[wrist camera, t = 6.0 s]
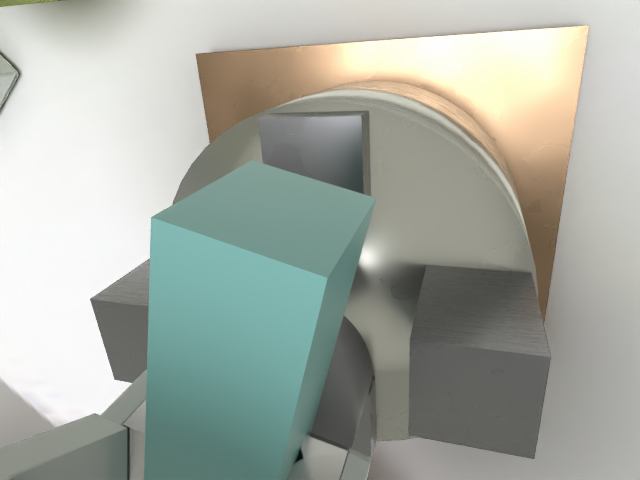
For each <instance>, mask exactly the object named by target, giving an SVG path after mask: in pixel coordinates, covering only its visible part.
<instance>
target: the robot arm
mask: <svg viewBox="0 0 640 480" xmlns="http://www.w3.org/2000/svg"><path fill="white" fill-rule="evenodd" d="M146 386H147V370H145V371H144V372H143V373H142V374H141V375H140V376H139V377H138V378H137V379H136V380H135V381H134V382H133V383H132V384H131V385H130V386H129V387H128V388H127V389H126V390H125V391H124V392H123V393H122V394H121V395H120V396H119V397H118V398H117V399H116V400H115V401H114V402H113V403H112V404H111V405H110V406H109V407H108V408H107V409H106V410H105V411H104V412H103V413H102V414H101V415H98V414H95V413H94V414H92V415H89V416H86V417H83V418H81V419H78V420H75V421H72V422H70V423H67V424H64V425H62V426H59V427H56V428H54V429H51V430H48V431H45V432H43V433H40V434H37V435H34V436H32V437H29V438H26V439H24V440H21V441H18V442H15V443H13V444H10V445H7V446H4V447H2V448H0V480H144V457H145V422H146ZM370 466H371V457H369V456H367V455H365V454H362V453H360V452H357V451H355V450H352V449H349V447H346V446H344V445H341V444H339V443H336V442H334V441H331V440H329V439H326V438H324V437H321V436H319V435H316V434H314V433H311V432H309V431H308V432H307V434H306V435H305V438H304V440H303V442H302V445H301V447H300V451H299V454H298V458H297V462H296V463H294V464H293V466H292V468H291V470H290V473H289V475H288V477H287V480H367V478H368V474H369V470H370Z"/></svg>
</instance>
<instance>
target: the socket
mask: <svg viewBox="0 0 640 480" xmlns="http://www.w3.org/2000/svg"><path fill="white" fill-rule="evenodd" d="M588 29H589V26H575V27H561V28H547V29H533V30H519V31H505V32H492V33H478V34H464V35H450V36H436V37H422V38H408V39H394V40H381V41H367V42H353V43H339V44H325V45H311V46H297V47H283V48H269V49H256V50H242V51H228V52H214V53H200V54H196V59H197V65H198V71H199V78H200V84H201V90H202V96H203V103H204V109H205V115H206V121H207V128H208V134H209V140H210V144H209V145H208V146H207V147H206V148H205V149H204V150H203V152H202V153H201V154H200V155H199V156H198V158H197V159H196V160H195V161H194V162H193V164H192V165H191V167H190V168H189V170H188V172H187V173H186V175H185V177H184V178H183V180H182V182H181V184H180V186H179V189H178V191H177V194H176V196H175V199H174V201H173V205H174V204H176V203H177V202H179V201H181V200H183V199H184V198H186V197H188V196H190V195H192V194H193V193H195V192H197V191H199V190H200V189H202V188H204V187H206V186H207V185H209V184H211V183H213V182H215V181H216V180H218V179H220V178H222V177H223V176H225V175H227V174H229V173H231V172H232V171H234V170H236V169H238V168H239V167H241V166H243V165H245V164H246V163H248V162H250V161H252V160H253V161H256V162H259V163H263V164H266V165H269V166H272V167H276V168H279V169H282V170H286V171H289V172H292V173H295V174H299V175H302V176H305V177H309V178H312V179H315V180H318V181H322V182H325V183H328V184H332V185H335V186H338V187H342V188H345V189H348V190H351V191H355V192H358V193H361V194H365V195H368V196H371V197H374V198H376V201H375V205H374V208H373V212H372V215H371V219H370V223H369V226H368V230H367V233H366V237H365V241H364V244H363V248H362V251H361V255H360V259H359V262H358V266H357V269H356V273H355V277H354V280H353V284H352V287H351V291H350V295H349V298H348V302H347V305H346V309H345V312H344V316H345V317H346V318H347V319H348V320H349V321H350V322H351V323H352V324H353V325H354V326H355V328H356V329H357V330H358V332H359V333H360V334H361V336H362V338H363V340H364V342H365V343H366V346H367V348H368V351H369V353H370V358H371V362H372V380H371V384H370V388H369V391H368V395H367V398H366V401H365V405H364V408H363V411H362V415H361V418H360V421H359V425H358V428H357V431H356V435H355V438H354V441H353V445H352V447H351V449H352V450H355V451H357V452H360V453H362V454H365V455H367V456H369V457H371V459H372V455H373V451H374V447H375V443H376V441H390V440H404V439H410V438H415V437H421V438H426V439H431V440H437V441H442V442H447V443H453V444H458V445H463V446H468V447H474V448H479V449H484V450H490V451H495V452H500V453H505V454H511V455H516V456H521V457H527V458H532V459H534V457H535V451H536V445H537V439H538V433H539V427H540V420H541V414H542V408H543V402H544V396H545V390H546V384H547V378H548V371H549V365H550V359H551V356H550V351H549V347H548V342H547V338H546V334H545V329H544V321H545V314H546V307H547V301H548V294H549V287H550V281H551V274H552V268H553V261H554V254H555V248H556V241H557V235H558V228H559V221H560V215H561V208H562V201H563V195H564V188H565V182H566V175H567V168H568V162H569V155H570V148H571V142H572V135H573V129H574V122H575V115H576V109H577V102H578V95H579V89H580V82H581V76H582V69H583V62H584V56H585V49H586V42H587V36H588ZM149 279H150V259H148V260H147V261H145V262H144V263H142V264H141V265H139V266H138V267H137V268H135V269H134V270H132V271H131V272H129V273H128V274H126V275H125V276H123V277H122V278H120V279H119V280H117V281H116V282H115V283H113V284H112V285H110V286H109V287H107V288H106V289H104V290H103V291H101V292H100V293H98V294H97V295H96V296H94V297H93V298H91V299H90V300H91V303H92V307H93V310H94V313H95V316H96V320H97V323H98V326H99V330H100V333H101V336H102V339H103V343H104V346H105V349H106V353H107V356H108V359H109V362H110V366H111V369H112V372H113V376H114V379H115V380H120V381H125V382H130V383H133V382H134V381H135V380H136V379H137V378H138V377H139V376H140V375H141V374H142V373H143V372H144V371H145V370H147V350H148V314H149Z"/></svg>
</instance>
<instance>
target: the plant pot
mask: <svg viewBox="0 0 640 480" xmlns="http://www.w3.org/2000/svg"><path fill="white" fill-rule="evenodd" d="M52 1H62V0H0V7H2V6H12V5H22V4H31V3H41V2H52Z"/></svg>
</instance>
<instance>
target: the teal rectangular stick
mask: <svg viewBox="0 0 640 480" xmlns="http://www.w3.org/2000/svg"><path fill="white" fill-rule="evenodd" d="M375 201H376V198H374V197H371V196H368V195H365V194H361V193H358V192H355V191H351V190H348V189H345V188H342V187H338V186H335V185H332V184H328V183H325V182H322V181H318V180H315V179H312V178H309V177H305V176H302V175H299V174H295V173H292V172H289V171H286V170H282V169H279V168H276V167H272V166H269V165H266V164H263V163H259V162H256V161H253V160H252V161H250V162H248V163H246V164H245V165H243V166H241V167H239V168H238V169H236V170H234V171H232V172H231V173H229V174H227V175H225V176H223V177H222V178H220V179H218V180H216V181H215V182H213V183H211V184H209V185H207V186H206V187H204V188H202V189H200V190H199V191H197V192H195V193H193V194H192V195H190V196H188V197H186V198H184V199H183V200H181V201H179V202H177V203H176V204H174V205H172V206H170V207H169V208H167V209H165V210H163V211H161V212H160V213H158V214H156V215H154V216H153V217H151V243H150V279H149V314H148V350H147V386H146V422H145V457H144V480H287V477H288V475H289V473H290V470H291V468H292V466H293V464H294V463H296V462H297V458H298V454H299V451H300V447H301V445H302V442H303V440H304V438H305V435H306V434H307V432H308V431H309V432H311V433H314V434H316V435H319V436H321V437H324V438H326V439H329V440H331V441H334V442H336V443H339V444H341V445H344V446H346V447H349V449H351V447H352V445H353V441H354V438H355V435H356V431H357V428H358V425H359V421H360V418H361V415H362V411H363V408H364V405H365V401H366V398H367V395H368V391H369V388H370V384H371V380H372V362H371V358H370V353H369V351H368V348H367V346H366V343H365V342H364V340H363V338H362V336H361V334H360V333H359V332H358V330H357V329H356V328H355V326H354V325H353V324H352V323H351V322H350V321H349V320H348V319H347V318H346V317H345V316H344V312H345V309H346V305H347V302H348V298H349V295H350V291H351V287H352V284H353V280H354V277H355V273H356V269H357V266H358V262H359V259H360V255H361V251H362V248H363V244H364V241H365V237H366V233H367V230H368V226H369V223H370V219H371V215H372V212H373V208H374V205H375Z"/></svg>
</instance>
